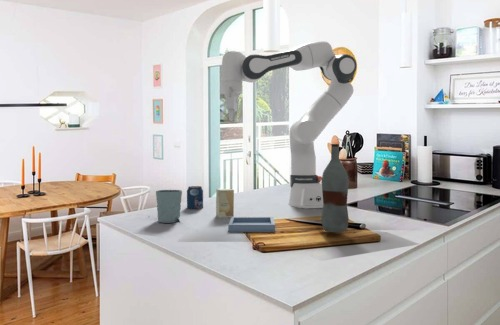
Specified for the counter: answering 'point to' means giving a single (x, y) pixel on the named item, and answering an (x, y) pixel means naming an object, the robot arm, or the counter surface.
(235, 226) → the slate tray
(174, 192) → the green tapered cup
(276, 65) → the robot arm
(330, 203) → the bottle
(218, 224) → the counter surface
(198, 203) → the soda can
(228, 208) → the skincare box
